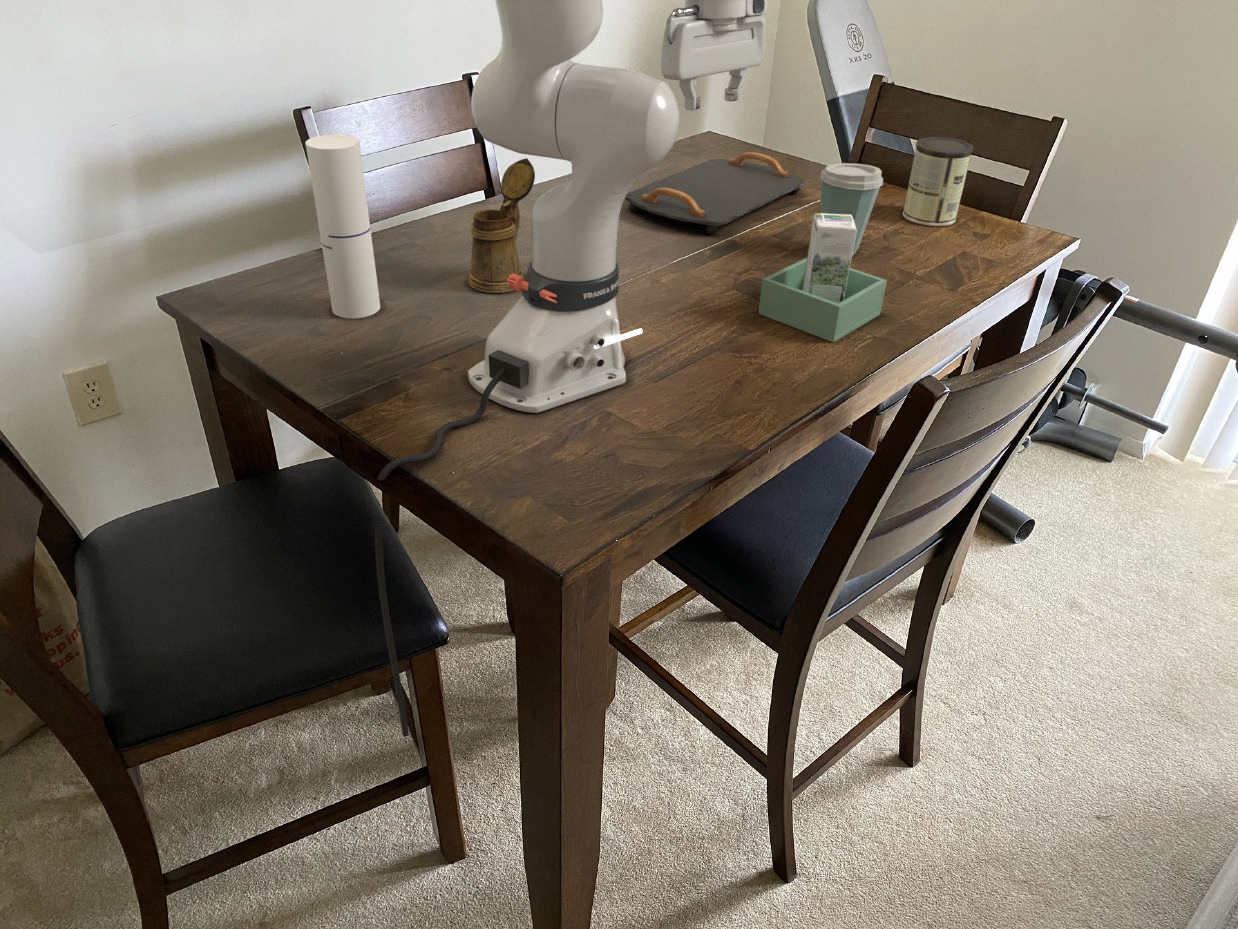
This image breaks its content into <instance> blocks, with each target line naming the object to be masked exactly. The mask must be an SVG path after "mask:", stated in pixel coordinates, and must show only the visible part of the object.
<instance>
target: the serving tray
mask: <svg viewBox="0 0 1238 929" xmlns="http://www.w3.org/2000/svg"><path fill="white" fill-rule="evenodd" d="M746 159H748V160H756V161H759V162H763V163H765V164H768V165H769V166H767V165H765V164H758V163H753V162H748V161H744V160H746ZM806 184H807V182H806V181H805V180H804V179H803V178H802V177H799V176H797V175H794V174H792V173H790V172H789V171H786V170H784V169H783V167H782V166H781V164H780V163H779V162H778V161H777V160H776V159H775V158H774V157H772V156H771V155H767V154H763V153H760V152H754V151H753V152H752V151H747V152H743V153H741V154H740V155H738V156H737V157H736V158H733V157H732V158H729V159H726V158H713V159H709V160H707V161H703V162H701V163H699V164H696V165H693V166H691V167H689V168H686V169H685V170H682V171H679V172H675V173H673V174H671V175H668V176H666V177H663V178H662V179H659V180H657V181H653V182H651V183H649V184H647V185H644V186H641V187H640V188H637V189H634V190H631V191H628V193H627V195H626V197H625V199H624V201H627V203H628V209H629V212H630V213H638V211H639V210H640V209H641V210H644V211H646V212H648V213H650V214H654V215H657V216H660V217H662V218H663V217H664V218H668V219H671V220H676V221H679V222H687V223H692V224H696V225H697V224H698V225H703V226H705V225H706V228H705V231H706V233H707V235H708V236H710V237H712V236H716V234H717V233H718V230H719V228H718V227H721V226H724V225H727V224H729V223H730V222H732V221H735V220H737V219H739V218H741V217H743V216H744V215H747V214H749V213H751V212H752V211H755V210H757V209H759V208H761V207H763V206H765V205H768V204H769V203H772V202H773V201H775V200H777V199H779V198H782V197H783V196H785V195H787V194H789V193H790V194H791V195H797V194H798V193H799V192H800V190H801V188H802V187H803V186H806Z"/></svg>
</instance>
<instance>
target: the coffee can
mask: <svg viewBox="0 0 1238 929" xmlns="http://www.w3.org/2000/svg"><path fill="white" fill-rule="evenodd" d="M973 152H974V146H973V144H971V143H970V142H967V141H965V140H962V139H957V138H953V137H947V136H946V137H945V136H928V137H927V136H926V137H922V138H919V139H917V140H916V143H915V151H914V155H913V156H914V157H913V161H912V165H911V166H912V167H911V171H910V175H909V176H910V177H909V182H908V187H907V192H906V195H905V196H906V197H905V202H904V206H903V211H902V216H903V218H904V219H905V220H907V221H908V222H911V223H914V224H918V225H922V226H928V227H945V226H946V227H947V226H951V225H953V224H954V223H956V221H957V216H958V212H959V207H960V203H961V199H962V195H963V192H964V191H963V190H964V187H965V182H966V178H967V174H968V171H969V170H968V169H969V166H970V161H971V157H972V153H973Z"/></svg>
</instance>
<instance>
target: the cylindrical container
mask: <svg viewBox="0 0 1238 929" xmlns="http://www.w3.org/2000/svg"><path fill="white" fill-rule="evenodd" d="M305 148H306V154H307V161H308V167H309V173H310V179H311V185H312V192H313V199H314V206H315V211H316V217H317V222H318V231H319V237H320V242H321V249H322V255H323V261H324V268H325V273H326V279H327V286H328V293H329V298H330V306H331V311H332V313H333V315H335V316H337V317H339V318H342V319H343V318H344V319H361V318H367V317H371V316H372V315H374V314H376V313H378V312H379V311H380V310H381V302H380V301H381V300H380V294H379V293H380V292H379V284H378V277H377V270H376V269H377V268H376V262H375V255H374V254H375V252H374V246H373V238H372V230H371V222H370V215H369V206H368V199H367V191H366V183H365V175H364V168H363V159H362V152H361V142H360V138H358V137H356V136H353V135H349V134H341V133H336V134H335V133H332V134H331V133H330V134H322V135H316V136H313V137H310V138H308V139H307V140H306V141H305Z"/></svg>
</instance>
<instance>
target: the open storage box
mask: <svg viewBox="0 0 1238 929" xmlns="http://www.w3.org/2000/svg"><path fill="white" fill-rule="evenodd" d="M806 262H807V257H805V258H803V259H801V260H799V261H797V262H795V263H793V264H791V265H789V266H786V267H784V268H782V269H781V270H778V271H776V272H774V273H772V274H770V275H768V276H766V277H763V278H762V281H761V288H760V296H759V304H758V306H759V307H758V315H761V316H764V317H766V318H769V319H771V320H774V321H776V322H778V323H781V324H784V325H787V326H789V327H792V328H794V329H797V330H799V331H802V332H804V333H807V334H810V335H812V336H815V337H817V338H819V339H823V340H826V341H828V342H831V343H835V342H837V341H838V340H841V339H842V338H843V337H846V336H847V335H849V334H851V333H852V332H853V331H855V330H857V329H858V328H860V327H862V326H863V325H865V324H867V323H868V322H871V321H872V320H874V319H875V318H877V317H879V316H881V312H882V307H883V302H884V297H885V292H886V287H887V282H888V280H887V279H885V278H881V277H879V276H876V275H872V274H869V273H866V272H863V271H860V270H857V269H854V268H851V267H850V269H849V274H848V279H847V285H846V290H845V296H844V301H842V302H840V303H835V302H832V301H829V300H827V299H824V298H821V297H818V296H815V295H813V294H810V293H807V292H804V291H802V288H803V281H804V275H805V269H806Z"/></svg>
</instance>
